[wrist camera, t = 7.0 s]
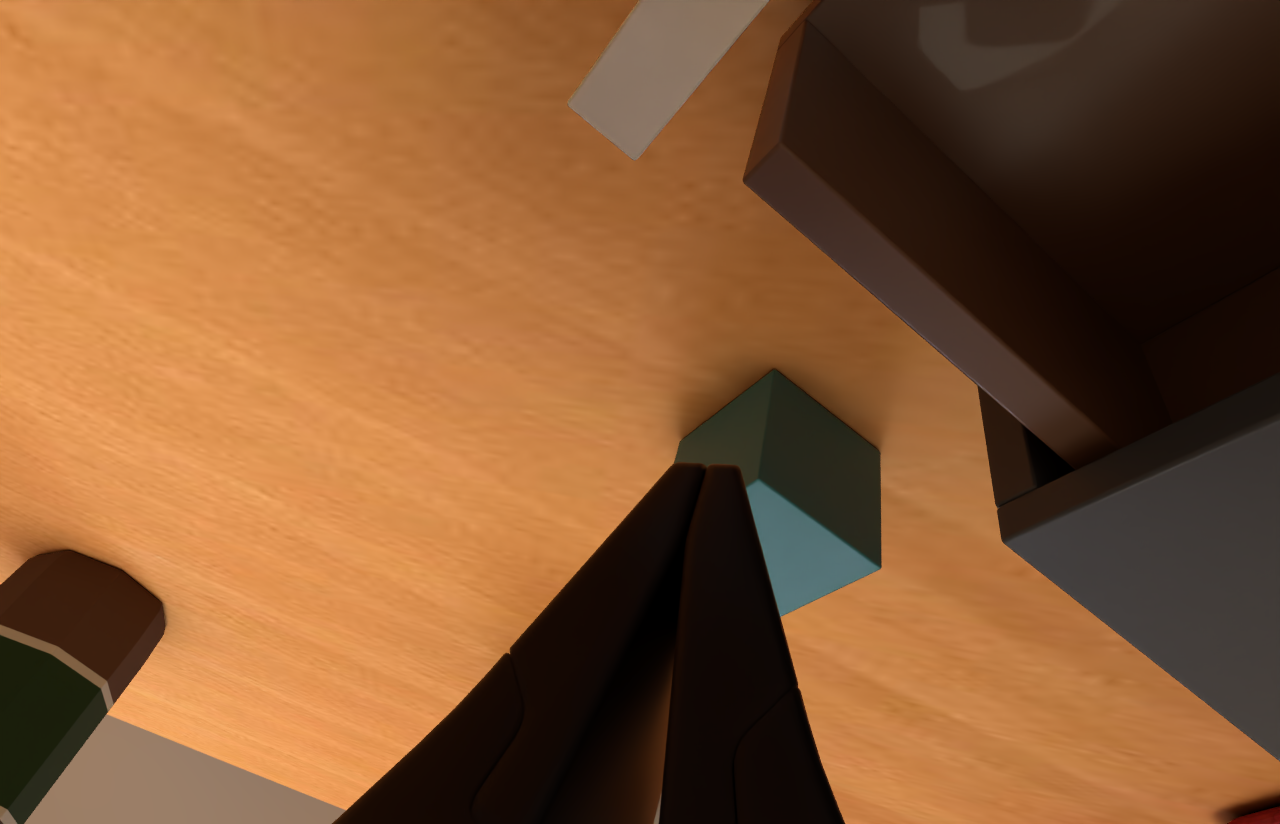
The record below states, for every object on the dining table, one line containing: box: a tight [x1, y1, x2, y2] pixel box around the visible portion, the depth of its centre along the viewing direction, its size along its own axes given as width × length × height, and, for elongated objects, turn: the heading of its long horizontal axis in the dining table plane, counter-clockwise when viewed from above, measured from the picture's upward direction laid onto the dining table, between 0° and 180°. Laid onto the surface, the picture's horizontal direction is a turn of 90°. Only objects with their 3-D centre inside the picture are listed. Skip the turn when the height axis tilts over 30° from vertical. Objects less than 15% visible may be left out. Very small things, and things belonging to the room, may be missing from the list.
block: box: [674, 369, 881, 617], centre depth 23 cm, size 4×4×4 cm
